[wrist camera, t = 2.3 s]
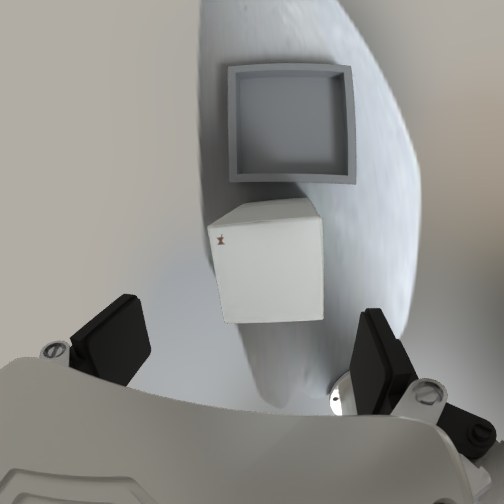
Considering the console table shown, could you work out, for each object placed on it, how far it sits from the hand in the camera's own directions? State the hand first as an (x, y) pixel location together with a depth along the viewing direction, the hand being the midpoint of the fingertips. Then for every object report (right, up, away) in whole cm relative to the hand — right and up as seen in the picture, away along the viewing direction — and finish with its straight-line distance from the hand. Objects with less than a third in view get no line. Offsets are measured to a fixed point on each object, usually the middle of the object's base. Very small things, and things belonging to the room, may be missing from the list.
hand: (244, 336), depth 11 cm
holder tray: (+4, +17, +15) cm, 23 cm away
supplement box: (+3, +5, +19) cm, 20 cm away
